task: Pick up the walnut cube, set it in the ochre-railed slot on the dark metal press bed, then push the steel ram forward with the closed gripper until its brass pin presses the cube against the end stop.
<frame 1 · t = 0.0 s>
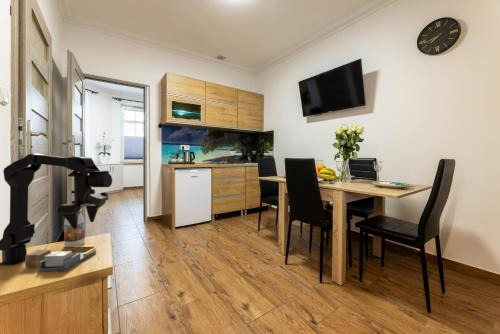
hand: (84, 225, 87), 15 cm above the cabinet top, fingers open, 9 cm apart
milk bottle: (74, 245, 104), on the cabinet top
ram: (60, 258, 82), point 3 cm above the cabinet top, slide at 0.0 cm
press: (69, 261, 86), on the cabinet top
housing: (38, 264, 84), on the cabinet top
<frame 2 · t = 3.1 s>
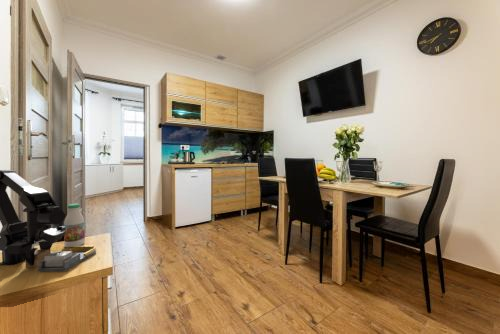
hand: (38, 261, 84), 1 cm above the cabinet top, fingers closed on housing, 5 cm apart
housing: (38, 264, 84), on the cabinet top, touching gripper
everything else where it was.
when the fingers open (4 cm above the cabinet top, at t = 6.6 s): housing drops 2 cm, resting on press.
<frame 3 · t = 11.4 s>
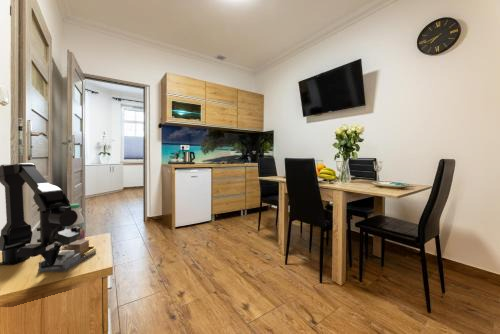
hand: (51, 265, 79), 2 cm above the cabinet top, fingers closed
ram: (62, 256, 83), point 4 cm above the cabinet top, slide at 1.0 cm, touching gripper
housing: (78, 253, 91), point 1 cm above the cabinet top, touching press
everything else where it was.
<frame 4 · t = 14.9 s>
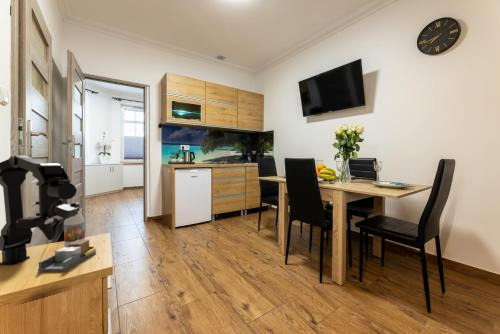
hand: (51, 239, 78), 12 cm above the cabinet top, fingers closed
ram: (69, 253, 86), point 3 cm above the cabinet top, slide at 4.3 cm, touching housing
housing: (79, 253, 91), point 1 cm above the cabinet top, touching press, ram
everything else where it was.
at the end: ram slide at 4.3 cm; housing 0.2 cm from the target spot on the press, point 1.2 cm above the press's base; housing tilted 0° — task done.
